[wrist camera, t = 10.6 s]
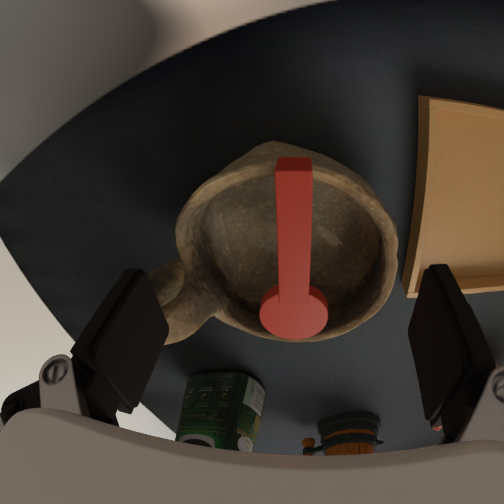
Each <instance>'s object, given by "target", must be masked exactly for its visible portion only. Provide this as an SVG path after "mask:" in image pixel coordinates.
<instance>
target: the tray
mask: <svg viewBox="0 0 504 504" xmlns="http://www.w3.org/2000/svg"><path fill="white" fill-rule="evenodd" d="M431 264H447V265H448V266H449V268H450V270H451V272H452V274H453V275H454V277H455V279H456V281H457V283H458V285H459V287H460V289H461V291H462V293H463V294H470V293H481V292H491V291H501V290H504V109H501V108H497V107H492V106H487V105H482V104H477V103H471V102H465V101H459V100H452V99H445V98H437V97H429V96H418V154H417V171H416V184H415V195H414V204H413V213H412V221H411V228H410V235H409V242H408V248H407V254H406V260H405V266H404V271H403V276H402V281H401V284H402V286H403V289H404V292H405V295H406V298H416V297H417V296H418V292H419V288H420V284H421V280H422V276H423V272H424V270H425V269H428V268H429V266H430V265H431Z"/></svg>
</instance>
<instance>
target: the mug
mask: <svg viewBox="0 0 504 504" xmlns="http://www.w3.org/2000/svg"><path fill="white" fill-rule="evenodd" d="M380 427H381V424H380V419H379V417H378V416H376V415H374V414H371V413H364V412H353V413H344V414H339V415H335V416H332V417H329V418H327V419H325V420H324V421H322V422H321V423H320V424H319V428H318V434H319V435H320V436H321V441H320V442H321V443H322V445H321V446H318V447H316V448H314V444H315V440H314V438H305V439H303V441H302V445H303V447H304V449H303V455H305V456H313V455H314V454H315V453H317V452H324V453H325V456H331V455H356V454H371V453H374V451H375V447H376V446H377V445H378V444H382V443H383V441H379V440H377V438H376V437H377V435H378V430H379V428H380Z"/></svg>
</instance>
